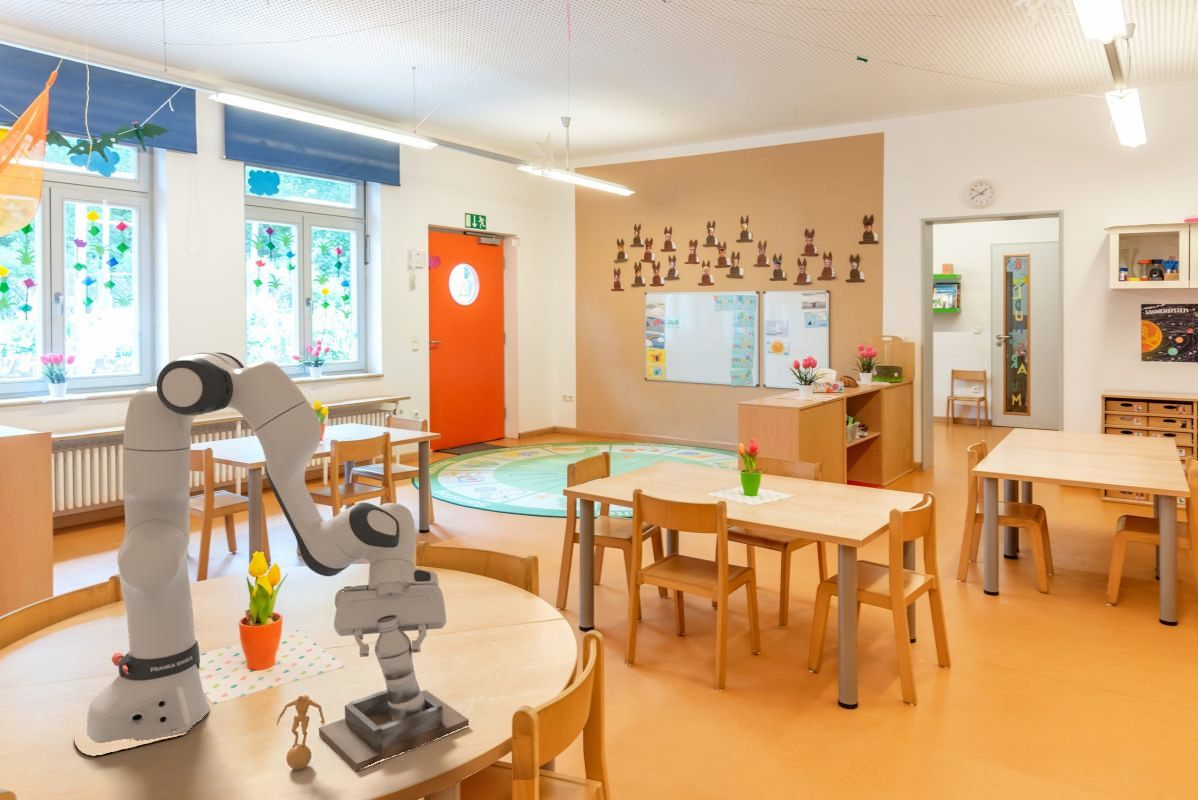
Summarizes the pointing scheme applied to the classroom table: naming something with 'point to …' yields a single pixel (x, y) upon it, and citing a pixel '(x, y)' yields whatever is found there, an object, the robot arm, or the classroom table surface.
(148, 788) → the classroom table surface
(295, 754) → the figurine
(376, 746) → the bottle holder board
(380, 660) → the plastic bottle
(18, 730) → the classroom table surface
